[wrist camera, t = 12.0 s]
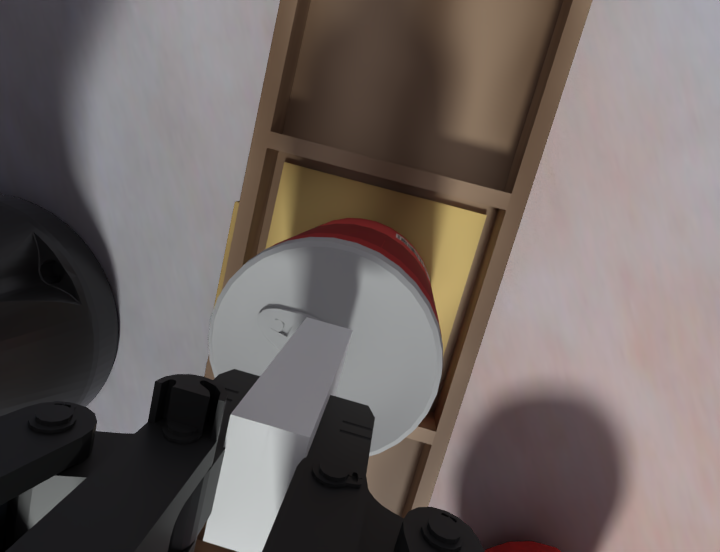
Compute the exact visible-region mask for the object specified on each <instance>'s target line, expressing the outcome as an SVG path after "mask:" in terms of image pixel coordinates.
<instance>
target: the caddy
mask: <svg viewBox="0 0 720 552" xmlns="http://www.w3.org/2000/svg"><path fill="white" fill-rule="evenodd" d="M591 3H592V0H280V4H279V9H278V14H277V19H276V24H275V29H274V34H273V39H272V44H271V48H270V53H269V58H268V63H267V68H266V73H265V78H264V83H263V88H262V93H261V98H260V103H259V108H258V113H257V118H256V123H255V128H254V133H253V138H252V143H251V148H250V153H249V158H248V163H247V168H246V172H245V177H244V182H243V187H242V192H241V197H240V201H236V202H235V204H234V209H233V214H232V219H231V224H230V229H229V234H228V239H227V244H226V249H225V254H224V259H223V264H222V269H221V274H220V279H219V284H218V289H217V294H216V299H215V304H216V301H217V298H218V297H219V295H220V293H221V292H222V290H223V289H224V287H225V285H226V284H227V282H228V281H229V279H230V278H231V277H232V276H233V275H234V274H235V273H236V272H237V271H238V270H239V269H240V268H241V267H242V266H243V265H244V264H245V263H246V262H247V261H248V260H250V259H251V258H253V257H254V256H256V255H258V254H259V253H261V252H262V251H264V250H265V249H267V248H269V247H271V246H273V245H275V244H277V243H279V242H281V241H284V240H286V239H289V238H291V237H293V236H296V235H298V234H300V233H303V232H305V231H308V230H310V229H312V228H315V227H317V226H320V225H322V224H325V223H327V222H330V221H333V220H338V219H344V218H363V219H367V220H372V221H376V222H379V223H381V224H383V225H386V226H388V227H390V228H392V229H393V230H395V231H396V232H398V233H399V234H401V235H402V236H404V237H405V238H406V239H407V240H408V241H409V242H410V243H411V244H412V245H413V246H414V248H415V249H416V250H417V252H418V253H419V255H420V256H421V258H422V259H423V262H424V264H425V267H426V269H427V271H428V275H429V279H430V283H431V288H432V292H433V297H434V301H435V306H436V310H437V315H438V320H439V325H440V330H441V335H442V343H443V368H442V375H441V379H440V383H439V388H438V392H437V395H436V397H435V399H434V401H433V403H432V406H431V408H430V410H429V412H428V414H427V415H426V416H425V417H424V419H423V420H422V421H421V423H420V424H419V425H418V426H417V428H416V429H415V430H414V431H413V432H412V433H410V434H409V435H408V436H407V437H406V438H404V439H403V440H402V441H401V442H399V443H398V444H396V445H394V446H392V447H391V448H389V449H387V450H385V451H383V452H381V453H379V454H376V455H372V456H369V460H368V466H367V473H366V477H367V484H368V489H369V491H370V493H371V494H372V495H373V497H374V498H375V499H376V500H377V501H378V502H379V503H380V504H381V505H382V506H384V507H385V508H387V509H388V510H390V511H391V512H393V513H395V514H397V515H399V516H400V517H402V518H404V517H405V516H406V514H407V513H408V511H411V510H413V509H415V508H417V507H428V505H429V502H430V499H431V496H432V493H433V490H434V486H435V483H436V480H437V477H438V474H439V471H440V468H441V465H442V462H443V459H444V456H445V453H446V450H447V446H448V443H449V440H450V437H451V434H452V431H453V428H454V425H455V422H456V419H457V416H458V413H459V409H460V406H461V403H462V400H463V397H464V394H465V391H466V388H467V385H468V382H469V379H470V376H471V373H472V369H473V366H474V363H475V360H476V357H477V354H478V351H479V348H480V345H481V342H482V339H483V336H484V333H485V329H486V326H487V323H488V320H489V317H490V314H491V311H492V308H493V305H494V302H495V299H496V296H497V293H498V289H499V286H500V283H501V280H502V277H503V274H504V271H505V268H506V265H507V262H508V259H509V256H510V252H511V249H512V246H513V243H514V240H515V237H516V234H517V231H518V228H519V225H520V222H521V219H522V216H523V212H524V209H525V206H526V203H527V200H528V197H529V194H530V191H531V188H532V185H533V182H534V179H535V176H536V172H537V169H538V166H539V163H540V160H541V157H542V154H543V151H544V148H545V145H546V142H547V139H548V136H549V132H550V129H551V126H552V123H553V120H554V117H555V114H556V111H557V108H558V105H559V102H560V99H561V95H562V92H563V89H564V86H565V83H566V80H567V77H568V74H569V71H570V68H571V65H572V62H573V59H574V55H575V52H576V49H577V46H578V43H579V40H580V37H581V34H582V31H583V28H584V25H585V22H586V19H587V15H588V12H589V9H590V6H591ZM215 304H214V307H215ZM204 377H206V378H209V379H211V380H214V379H215V378H214V374H213V370H212V367H211V363H210V360H209V356H208V361H207V366H206V371H205V376H204ZM206 524H207V521H206V523H205V524H204V526H203V528H202V529H201V531H200V533H199V534H198V536H197V540H196V544H195V549H194V552H237V551H234V550H231V549H228V548H224V547H221V546H218V545H215V544H211V543H208V542H205V541H203V538H204V534H205V529H206Z"/></svg>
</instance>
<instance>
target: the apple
mask: <svg viewBox="0 0 720 552" xmlns="http://www.w3.org/2000/svg"><path fill="white" fill-rule="evenodd" d="M485 552H561V551H560V550H559V549H557V548H556V547H552V546H548V545H545V544H541V543H537V542H534V541H520V542H506V543H503V544H500V545H497V546H495V547H492V548H489V549H486V550H485Z"/></svg>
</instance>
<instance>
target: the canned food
mask: <svg viewBox="0 0 720 552" xmlns="http://www.w3.org/2000/svg"><path fill="white" fill-rule="evenodd" d="M307 317H308V318H312V319H315V320H319V321H322V322H326V323H330V324H333V325H337V326H340V327H344V328H347V329H351V330H353V332H352V336H351V339H350V343H349V347H348V351H347V355H346V358H345V362H344V366H343V370H342V373H341V377H340V381H339V385H338V388H337V392H336V397H340V398H343V399H347V400H350V401H354V402H357V403H361V404H364V405H368V406H369V408H370V409H371V411H372V413H373V415H374V417H375V421H374V427H373V434H372V440H371V447H370V453H369V456H372V455H376V454H379V453H381V452H383V451H385V450H387V449H389V448H391V447H392V446H394V445H396V444H398V443H399V442H401V441H402V440H403V439H404V438H406V437H407V436H408V435H409V434H410V433H412V432H413V431H414V430H415V429H416V428H417V426H418V425H419V424H420V423H421V421H422V420H423V419H424V417H425V416H426V415H427V414H428V412H429V410H430V408H431V406H432V403H433V401H434V399H435V397H436V395H437V392H438V388H439V383H440V379H441V375H442V368H443V343H442V335H441V330H440V325H439V320H438V315H437V310H436V306H435V301H434V297H433V292H432V288H431V283H430V279H429V275H428V271H427V269H426V267H425V264H424V262H423V259H422V258H421V256H420V255H419V253H418V252H417V250H416V249H415V248H414V246H413V245H412V244H411V243H410V242H409V241H408V240H407V239H406V238H405V237H404V236H402V235H401V234H399V233H398V232H396V231H395V230H393V229H392V228H390V227H388V226H386V225H383V224H381V223H379V222H376V221H372V220H367V219H363V218H344V219H338V220H333V221H330V222H327V223H325V224H322V225H320V226H317V227H315V228H312V229H310V230H308V231H305V232H303V233H300V234H298V235H296V236H293V237H291V238H289V239H286V240H284V241H281V242H279V243H277V244H275V245H273V246H271V247H269V248H267V249H265V250H264V251H262V252H261V253H259V254H258V255H256V256H254V257H253V258H251V259H250V260H248V261H247V262H246V263H245V264H244V265H243V266H242V267H241V268H240V269H239V270H238V271H237V272H236V273H235V274H234V275H233V276H232V277H231V278H230V279H229V281H228V282H227V284H226V285H225V287H224V289H223V290H222V292H221V293H220V295H219V297H218V298H217V301H216V304H215V307H214V309H213V312H212V315H211V318H210V326H209V334H208V347H209V360H210V363H211V367H212V370H213V374H214V378H216V377H217V376H218V375H219V374H221V373H224V372H227V371H230V370H232V369H237V370H240V371H244V372H247V373H251V374H254V375H258V376H261V375H262V374H263V372H264V371H265V370H266V368H267V367H268V366H269V365H270V363H271V362H272V361H273V360H274V358H275V357H276V356H277V354H278V353H279V352H280V351H281V349H282V348H283V347H284V346H285V344H286V343H287V342H288V340H289V339H290V338H291V337H292V335H293V334H294V333H295V332H296V330H297V329H298V328H299V326H300V325H301V324H302V323H303V321H304V320H305V319H306V318H307Z"/></svg>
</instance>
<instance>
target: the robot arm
mask: <svg viewBox="0 0 720 552" xmlns="http://www.w3.org/2000/svg"><path fill="white" fill-rule="evenodd" d="M352 332H353V330H351V329H347V328H344V327H340V326H337V325H333V324H330V323H326V322H322V321H319V320H315V319H312V318H308V317H307V318H306V319H305V320H304V321H303V323H302V324H301V325H300V326H299V328H298V329H297V330H296V332H295V333H294V334H293V335H292V337H291V338H290V339H289V340H288V342H287V343H286V344H285V346H284V347H283V348H282V349H281V351H280V352H279V353H278V354H277V356H276V357H275V358H274V360H273V361H272V362H271V363H270V365H269V366H268V367H267V368H266V370H265V371H264V372H263V374H262V375H261V376H258V375H254V374H251V373H247V372H244V371H240V370H237V369H232V370H230V371H227V372H224V373H221V374H219V375H218V376H217V377H216V378H215V379H214V380H211V379H209V378H206V377H202V376H197V375H190V374H177V375H171V376H166V377H163V378H161V379H159V380H157V381H155V386H154V391H153V397H152V402H151V408H150V414H149V419H148V422H147V423H146V424H145V425H144V426H143V427H142V428H141V429H140V430H139V431H138V432H136V433H135V434H123V433H110V432H99V431H96V424H97V420H96V416H95V413H93V412H92V411H91V410H89V409H88V408H87V407H86V406H87V405H88V404H89V403H90V402H91V401H92V400H93V399H94V398H95V397H96V395H97V394H98V393H99V391H100V390H101V389H102V387H103V385H104V384H105V382H106V380H107V378H108V376H109V374H110V371H111V369H112V366H113V363H114V359H115V355H116V350H117V342H118V321H117V312H116V307H115V302H114V298H113V295H112V292H111V288H110V286H109V283H108V281H107V278H106V276H105V274H104V272H103V270H102V268H101V266H100V264H99V263H98V261H97V259H96V258H95V256H94V255H93V253H92V252H91V251H90V249H89V248H88V247H87V245H86V244H85V243H84V242H83V241H82V239H81V238H80V237H79V236H78V235H77V234H76V233H75V232H74V231H73V230H72V229H71V228H70V227H68V226H67V225H66V224H65V223H64V222H62V221H61V220H60V219H59V218H57V217H56V216H54V215H53V214H51V213H50V212H48V211H46V210H45V209H43V208H41V207H39V206H37V205H35V204H33V203H30V202H28V201H25V200H22V199H19V198H16V197H12V196H8V195H2V194H0V552H194V549H195V544H196V540H197V536H198V534H199V533H200V531H201V529H202V528H203V526H204V524H205V523H206V521H207V524H206V529H205V534H204V538H203V541H205V542H208V543H211V544H215V545H218V546H221V547H224V548H228V549H231V550H234V551H237V552H485V551H484V549H483V547H482V545H481V543H480V541H479V539H478V538H477V536H476V535H475V533H474V532H473V530H472V529H471V528H470V527H469V526H468V525H467V524H465V523H464V522H463V521H462V520H461V519H460V518H458V517H456V516H454V515H453V514H450V513H449V512H447V511H444V510H440V509H437V508H433V507H417V508H415V509H413V510H411V511H408V513H407V514H406V516H405V517H404V518H402V517H400V516H399V515H397V514H395V513H393V512H391V511H390V510H388V509H387V508H385V507H384V506H382V505H381V504H380V503H379V502H378V501H377V500H376V499H375V498H374V497H373V495H372V494H371V493H370V491H369V489H368V484H367V477H366V473H367V466H368V460H369V453H370V447H371V440H372V434H373V427H374V421H375V417H374V415H373V413H372V411H371V409H370V408H369V406H368V405H364V404H361V403H357V402H354V401H350V400H347V399H343V398H340V397H336V392H337V388H338V385H339V381H340V377H341V373H342V370H343V366H344V362H345V358H346V355H347V351H348V347H349V343H350V339H351V336H352Z"/></svg>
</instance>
